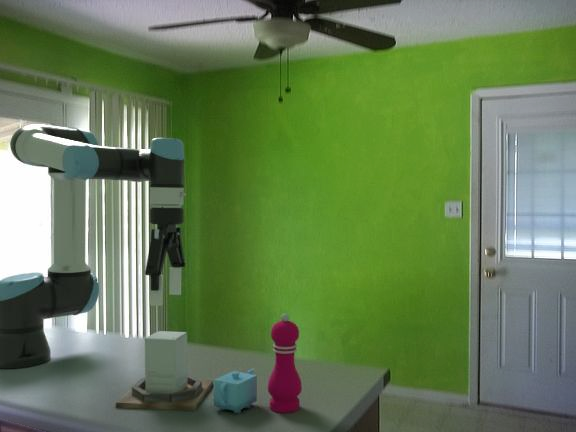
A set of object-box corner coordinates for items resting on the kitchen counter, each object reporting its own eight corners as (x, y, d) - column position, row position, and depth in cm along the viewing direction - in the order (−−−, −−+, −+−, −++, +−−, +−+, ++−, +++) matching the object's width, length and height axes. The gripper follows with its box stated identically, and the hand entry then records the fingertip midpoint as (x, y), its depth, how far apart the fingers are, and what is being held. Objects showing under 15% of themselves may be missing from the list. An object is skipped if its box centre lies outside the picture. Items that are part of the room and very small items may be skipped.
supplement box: (188, 386, 128) (188, 331, 127) (175, 397, 120) (175, 339, 120) (158, 384, 129) (158, 330, 129) (144, 394, 122) (144, 337, 122)
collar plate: (115, 407, 117) (115, 395, 117) (144, 381, 134) (143, 371, 134) (194, 410, 115) (194, 398, 115) (213, 384, 132) (213, 373, 132)
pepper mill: (266, 402, 121) (267, 310, 120) (299, 401, 121) (300, 310, 121) (268, 414, 113) (268, 317, 113) (303, 413, 114) (304, 316, 113)
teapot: (242, 395, 125) (242, 362, 125) (265, 400, 122) (265, 366, 122) (208, 412, 115) (209, 376, 114) (232, 418, 111) (232, 381, 111)
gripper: (165, 207, 113) (164, 310, 114) (197, 206, 138) (196, 291, 139) (129, 207, 114) (129, 309, 115) (168, 205, 139) (167, 290, 139)
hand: (166, 299), depth 127 cm, fingers open, 13 cm apart
